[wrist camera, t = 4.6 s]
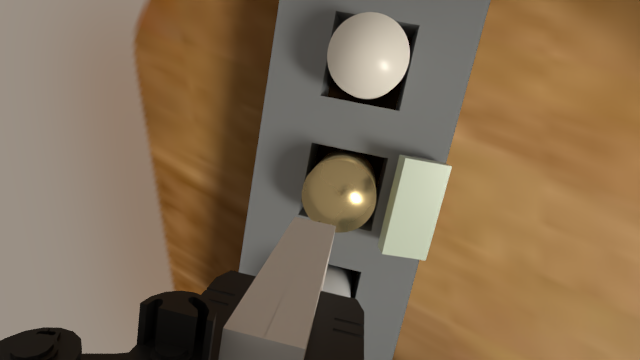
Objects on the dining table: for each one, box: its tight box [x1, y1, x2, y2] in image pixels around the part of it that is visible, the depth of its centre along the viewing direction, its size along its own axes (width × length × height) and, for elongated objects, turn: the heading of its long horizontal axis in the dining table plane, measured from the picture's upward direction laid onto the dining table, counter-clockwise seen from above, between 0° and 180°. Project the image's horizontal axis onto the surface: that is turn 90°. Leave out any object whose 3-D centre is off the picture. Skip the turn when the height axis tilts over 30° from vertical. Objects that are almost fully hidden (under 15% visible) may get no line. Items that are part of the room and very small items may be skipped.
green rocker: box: [378, 155, 452, 261], centre depth 22 cm, size 6×3×2 cm, turn 169°
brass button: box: [302, 150, 376, 233], centre depth 23 cm, size 4×4×5 cm
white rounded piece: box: [327, 12, 410, 100], centre depth 22 cm, size 4×4×5 cm
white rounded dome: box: [322, 264, 352, 298], centre depth 25 cm, size 4×4×5 cm
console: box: [239, 0, 490, 360], centre depth 25 cm, size 26×12×4 cm, turn 169°
